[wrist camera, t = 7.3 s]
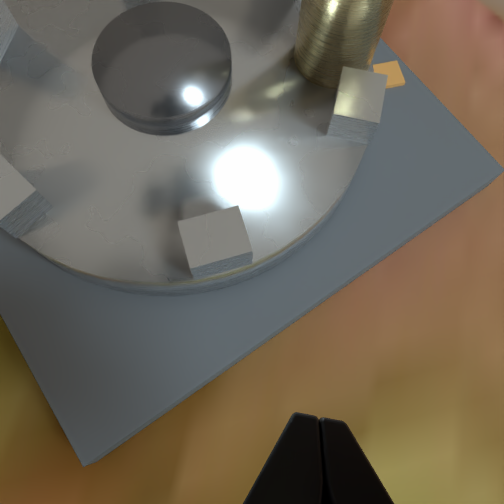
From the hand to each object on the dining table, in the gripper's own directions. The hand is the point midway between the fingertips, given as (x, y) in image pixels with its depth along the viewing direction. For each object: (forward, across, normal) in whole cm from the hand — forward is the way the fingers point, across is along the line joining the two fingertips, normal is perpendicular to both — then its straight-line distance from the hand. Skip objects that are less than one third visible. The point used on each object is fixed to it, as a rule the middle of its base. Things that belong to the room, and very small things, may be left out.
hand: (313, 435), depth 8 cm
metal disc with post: (+15, +6, -2) cm, 16 cm away
